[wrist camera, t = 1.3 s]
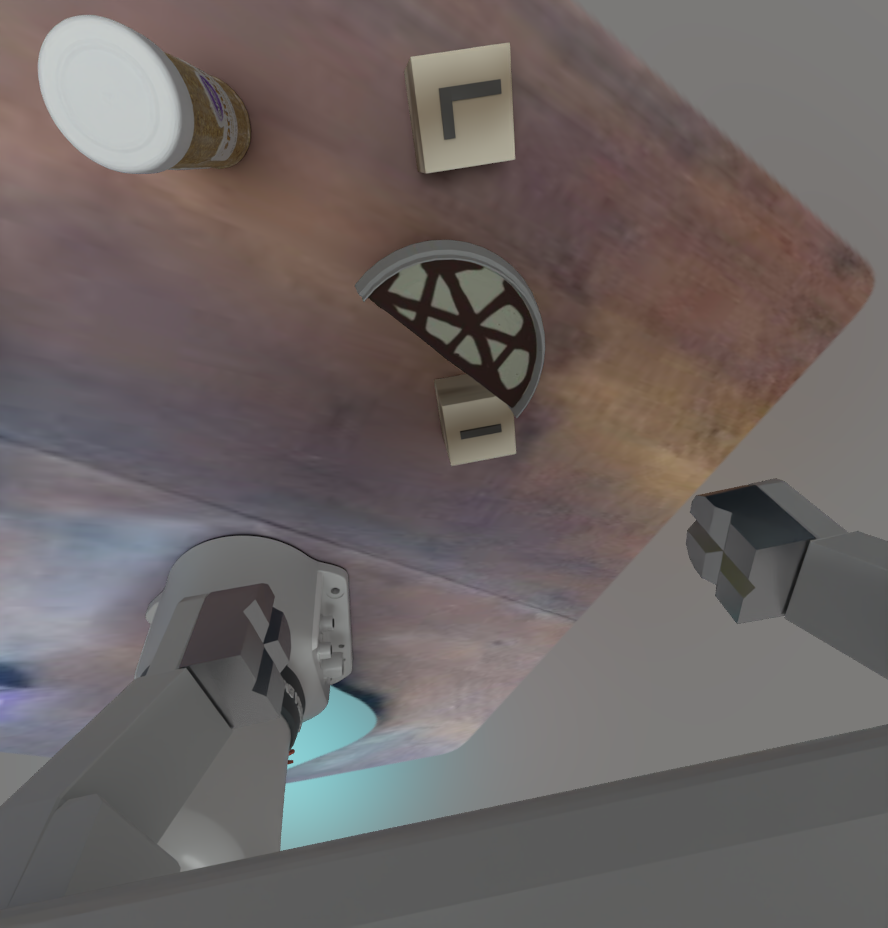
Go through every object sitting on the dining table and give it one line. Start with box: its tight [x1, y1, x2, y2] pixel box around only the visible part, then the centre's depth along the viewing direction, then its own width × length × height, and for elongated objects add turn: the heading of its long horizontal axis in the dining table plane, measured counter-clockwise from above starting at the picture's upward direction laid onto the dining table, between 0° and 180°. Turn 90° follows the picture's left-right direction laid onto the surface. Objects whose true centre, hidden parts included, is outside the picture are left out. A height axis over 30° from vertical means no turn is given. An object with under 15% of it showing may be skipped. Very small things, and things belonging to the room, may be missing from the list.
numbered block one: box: [434, 374, 516, 466], centre depth 38 cm, size 5×5×5 cm
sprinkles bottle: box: [38, 15, 251, 174], centre depth 23 cm, size 5×5×13 cm
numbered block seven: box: [404, 43, 515, 173], centre depth 28 cm, size 5×5×5 cm
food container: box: [355, 240, 545, 418], centre depth 31 cm, size 12×6×10 cm, turn 50°
